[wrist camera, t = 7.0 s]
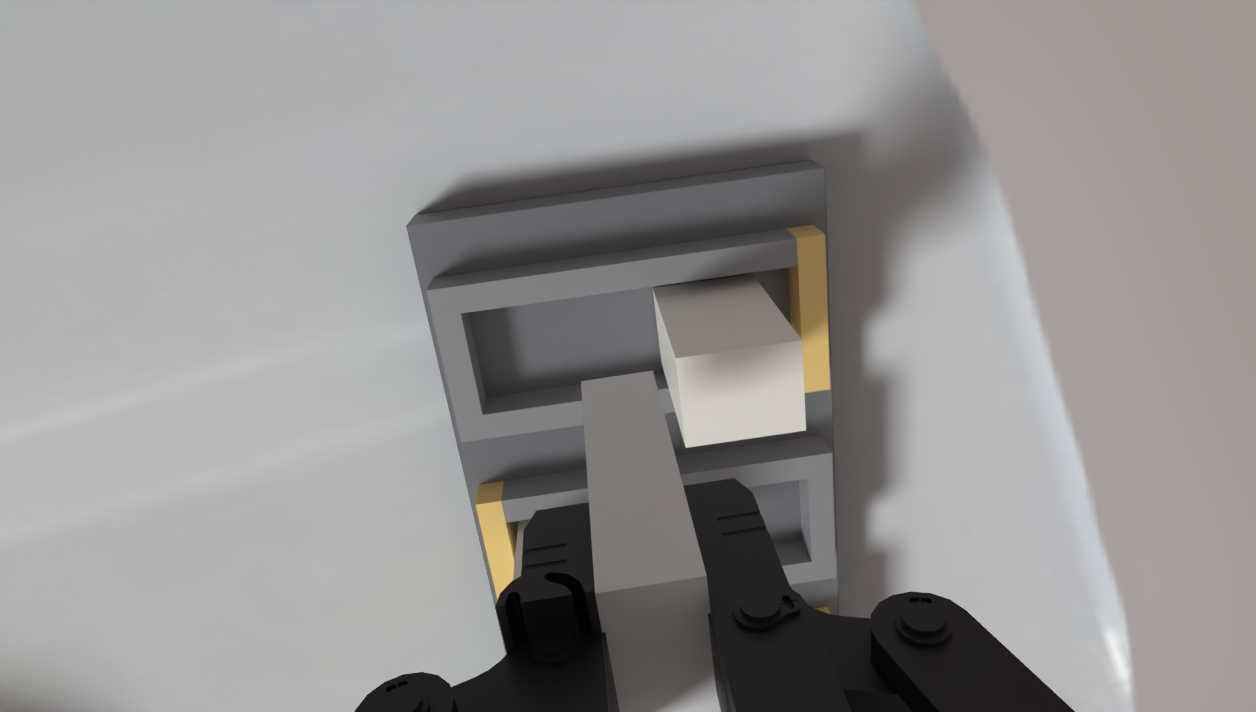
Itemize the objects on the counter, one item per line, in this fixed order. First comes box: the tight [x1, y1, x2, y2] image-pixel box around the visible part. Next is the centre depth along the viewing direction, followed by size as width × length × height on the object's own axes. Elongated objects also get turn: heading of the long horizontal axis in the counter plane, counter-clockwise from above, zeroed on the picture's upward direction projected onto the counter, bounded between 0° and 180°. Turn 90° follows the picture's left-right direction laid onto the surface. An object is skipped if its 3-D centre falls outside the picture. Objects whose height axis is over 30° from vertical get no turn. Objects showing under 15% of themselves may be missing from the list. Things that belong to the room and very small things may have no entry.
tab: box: [653, 274, 806, 448], centre depth 22 cm, size 2×3×6 cm
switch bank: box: [406, 160, 839, 654], centre depth 28 cm, size 22×12×3 cm, turn 7°
